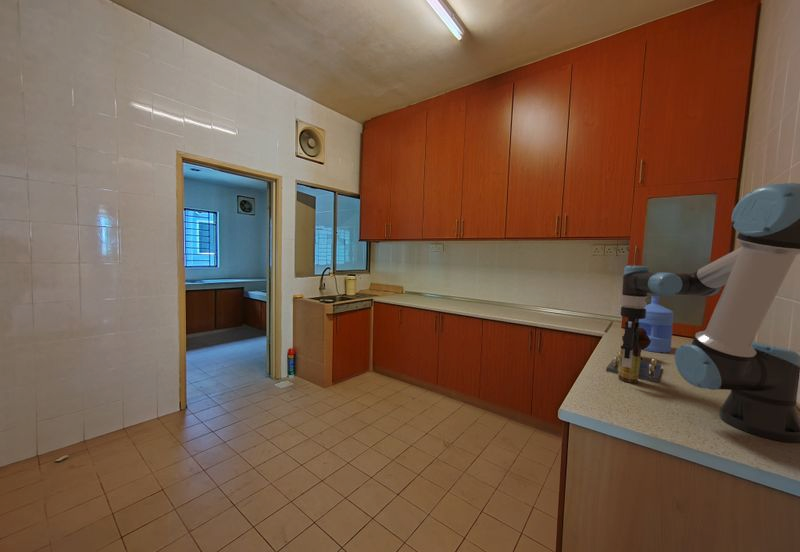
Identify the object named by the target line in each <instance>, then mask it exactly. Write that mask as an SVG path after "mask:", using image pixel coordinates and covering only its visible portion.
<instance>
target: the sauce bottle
mask: <svg viewBox="0 0 800 552" xmlns="http://www.w3.org/2000/svg"><path fill="white" fill-rule="evenodd" d="M639 334H640V330H638V329H637V333H636V334H635V335H634V340H633V346H632V350H633V352H632V365H631V368H628V367H624V366H622V357H623V349H622V348H621V347H620V351H619V352H620V360H619V370H618V374H617V375H618V379H619V380H620V381H623V382H625V383H631V384H636V383H638V382H639V381H638V380H639V378H638V377H639V368H640V361H641V360H640V359H641V358H642V355H641V352H642V350H641V347H640V345H639V343H638V337H639Z"/></svg>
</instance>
